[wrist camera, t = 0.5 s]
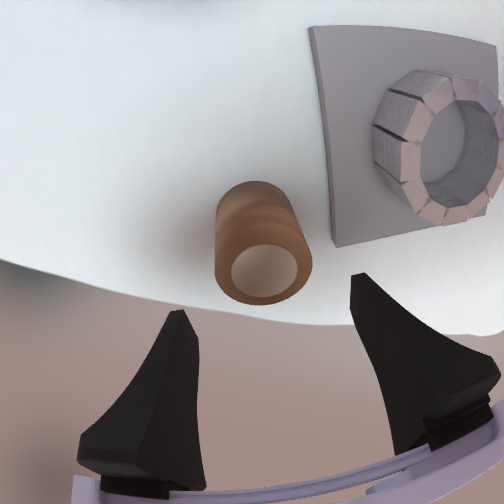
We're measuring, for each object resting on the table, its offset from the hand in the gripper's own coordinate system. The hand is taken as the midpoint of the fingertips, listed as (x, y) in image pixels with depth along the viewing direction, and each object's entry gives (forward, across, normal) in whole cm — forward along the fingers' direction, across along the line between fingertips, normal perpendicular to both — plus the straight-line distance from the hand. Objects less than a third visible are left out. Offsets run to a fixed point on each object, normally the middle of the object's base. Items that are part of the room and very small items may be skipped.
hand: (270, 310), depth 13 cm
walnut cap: (+8, 0, 0) cm, 8 cm away
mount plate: (+8, -12, -4) cm, 15 cm away
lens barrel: (+8, -12, -4) cm, 15 cm away
